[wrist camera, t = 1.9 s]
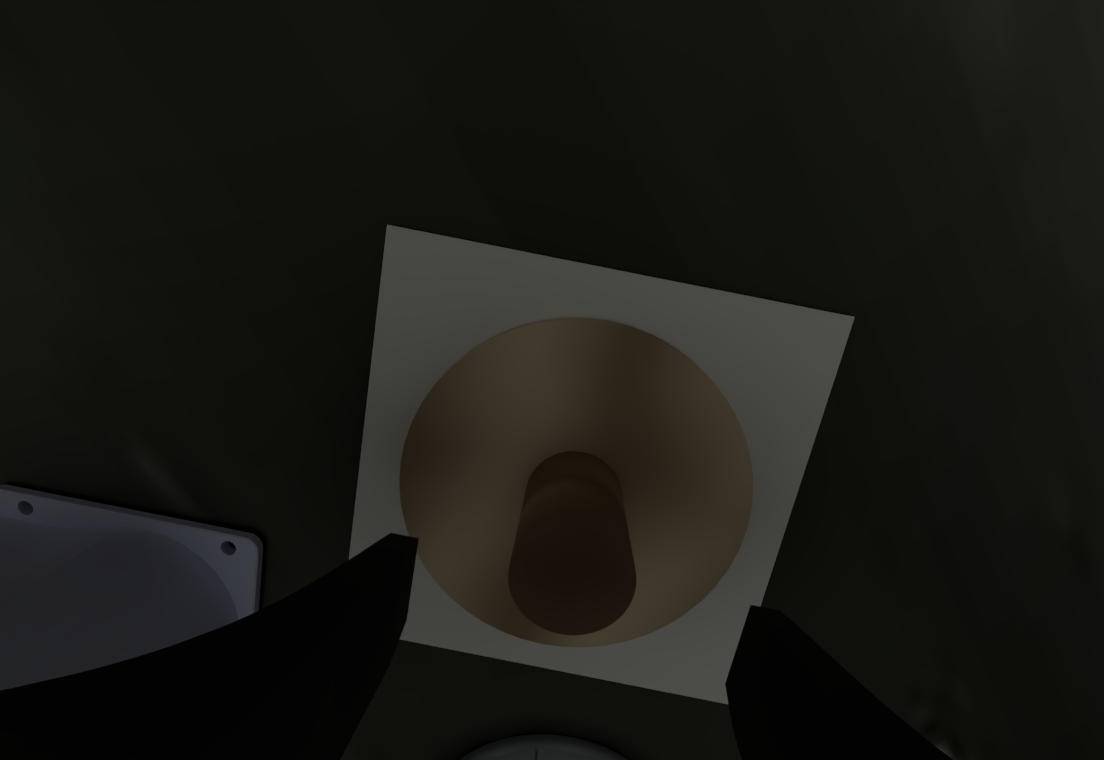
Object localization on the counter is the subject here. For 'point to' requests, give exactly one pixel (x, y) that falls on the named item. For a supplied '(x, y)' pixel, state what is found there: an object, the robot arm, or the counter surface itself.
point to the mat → (626, 298)
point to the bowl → (542, 749)
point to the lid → (576, 483)
